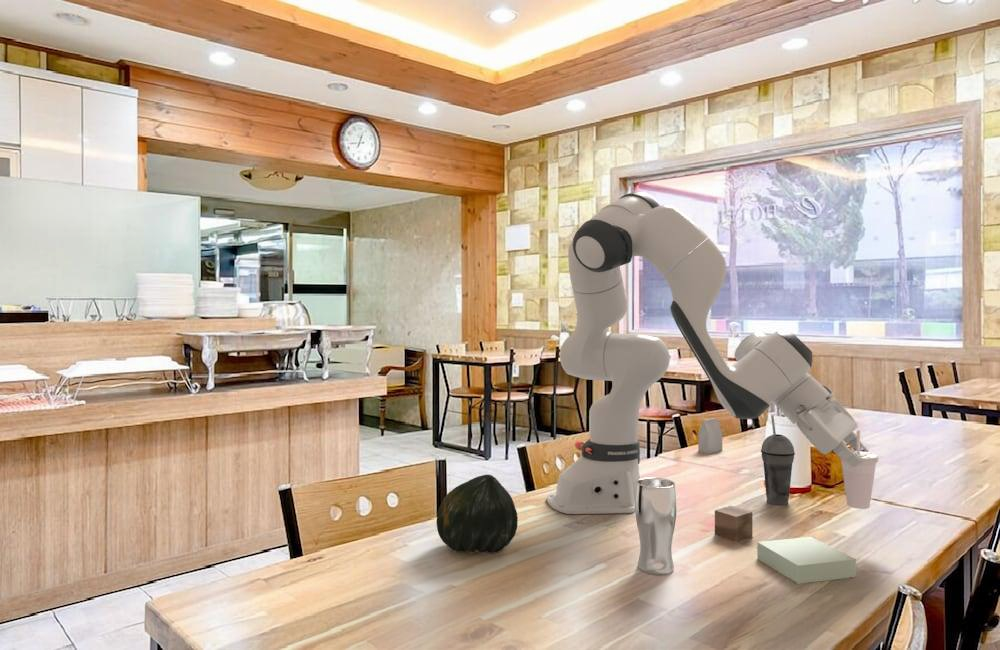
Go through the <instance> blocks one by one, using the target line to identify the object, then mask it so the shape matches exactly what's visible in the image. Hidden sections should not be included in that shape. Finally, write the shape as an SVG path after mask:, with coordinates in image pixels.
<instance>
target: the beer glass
mask: <svg viewBox="0 0 1000 650" xmlns="http://www.w3.org/2000/svg"><path fill="white" fill-rule="evenodd" d="M676 492H677V491H676V482H675V481H673V480H670V479H668V478H661V477H642V478H640V479H639V480H637V481H636V495H635V511H634V512H635V521H636V527H637V532H638V538H639V555H638V561H637V562H638V563H637V568H638V569H639V570H640V571H641V572H643V573H645V574H648V575H652V574H653V575H654V576H665V575H668V574H669V575H670V574H671V573H672V572H673V571H675V567H674V566H675V565H674V561H673V560H674V559H673V556H672V555H673V552H672V544H673V537H674V533H675V526H676V519H677V493H676Z"/></svg>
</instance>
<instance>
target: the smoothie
mask: <svg viewBox="0 0 1000 650" xmlns="http://www.w3.org/2000/svg"><path fill="white" fill-rule="evenodd" d="M856 435H857V451H855V450H853V449H850V450H851V451H852V452H853V453H856V454H857V455H858V456H859V457H860V458H861V460H862V461H861V463H860V464H859V465H857V466H856V467H852V466H851V465H850V464H849V463H848V462H847V461H846V460H844V459H843V458H841V457H840V456H839V457H838V458H839V459H840V461H841V469H842V476H843V482H844V483H843V484H844V490H845V491H844V492H845V497H846V498H845V499H846V504H847V506H848V507H851V508H853V509H857V510H858V509H859V510H864V509H866V510H867V509H869V508H870V507H871V502H872V501H871V500H872V494H873V486H874V480H875V473H876V467H877V463H878V462H879V456H878V454H876V453H873V452H871V451H869V452H865V451H860V441H861V430H860V429H857V430H856Z"/></svg>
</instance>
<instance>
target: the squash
mask: <svg viewBox="0 0 1000 650" xmlns="http://www.w3.org/2000/svg"><path fill="white" fill-rule="evenodd" d="M518 521H519V520H518V511H517V508H516V506H515V503H514V500H513V498H512V496H511V494H510V493H509V492H508V490H507V489H506V488H505V487H504V486H503V485H502V484H501V483H500V481H499V480H498V479H497V478H496V477H495V476H493V475H492V474H483V475H479V476H476V477H473V478H471V479H470V480H467V481H466V482H463V483H461V484H459V485H457V486H456V487H454V488H453V489H451V490H449V492H448V493H447V494H446V495H445V496H444V497H443V499H442V502H441V504H440V505H439V507H438V510H437V514H436V528H437V534H438V536H439V537H440V540H441V541H442V543H444V544H445V545H446V547H448V548H449V549H450V550H451V551H454V552H456V553H461V552H463V553H464V552H465V551H466V552H467V553H474V552H475V551H477V552H478V553H489V554H497V553H500V552H502V551H503V550H504V549H505V548H506V547H507V546H509V544H510V543H511V542H512V541H513V539H514V537H515V535H516V534H517V533H516V532H517V529H518V523H519V522H518Z"/></svg>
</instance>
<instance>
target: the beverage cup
mask: <svg viewBox="0 0 1000 650" xmlns="http://www.w3.org/2000/svg"><path fill="white" fill-rule="evenodd" d="M770 416H771V417H770V418H771V425H772V434H770V435H769V436H767V437H766V438H765V439H764V440H763V442H762V444H761V449H760V453H761V458H762V461H763V463H762V464H763V474H764V484H765V494H766V502H767V503H768V504H770V505H775V506H776V505H777V506H785V505H788V504H789V497H790V492H791V491H790V490H791V480H792V471H793V470H792V469H793V463H794V459H795V454H796V453H795V449H794V444H793V443H792V441H791V440H790V439H789V438H788V437H787V436H785V435H783V434H779V433H776V425H775V418H774V415H773V414H772V415H770Z"/></svg>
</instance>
